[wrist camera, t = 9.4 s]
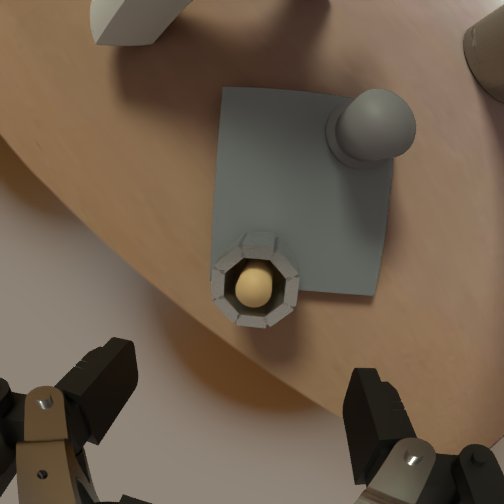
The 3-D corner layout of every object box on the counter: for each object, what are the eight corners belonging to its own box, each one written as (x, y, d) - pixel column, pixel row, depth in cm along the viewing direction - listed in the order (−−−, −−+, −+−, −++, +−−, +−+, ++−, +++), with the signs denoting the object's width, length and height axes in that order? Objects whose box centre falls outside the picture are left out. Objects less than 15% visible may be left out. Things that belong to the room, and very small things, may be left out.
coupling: (298, 234, 23) (303, 250, 18) (290, 301, 24) (292, 330, 20) (226, 228, 24) (213, 241, 19) (223, 294, 25) (210, 322, 20)
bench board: (390, 109, 22) (429, 87, 15) (370, 290, 26) (399, 329, 19) (225, 90, 23) (204, 58, 16) (212, 276, 27) (189, 312, 20)
